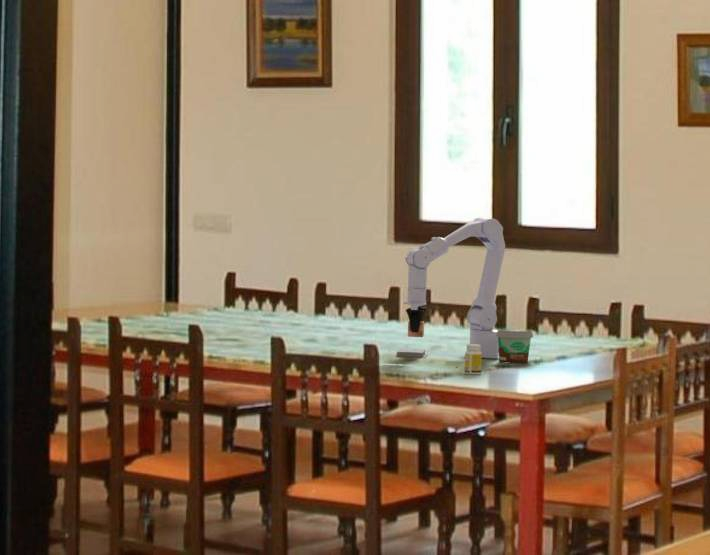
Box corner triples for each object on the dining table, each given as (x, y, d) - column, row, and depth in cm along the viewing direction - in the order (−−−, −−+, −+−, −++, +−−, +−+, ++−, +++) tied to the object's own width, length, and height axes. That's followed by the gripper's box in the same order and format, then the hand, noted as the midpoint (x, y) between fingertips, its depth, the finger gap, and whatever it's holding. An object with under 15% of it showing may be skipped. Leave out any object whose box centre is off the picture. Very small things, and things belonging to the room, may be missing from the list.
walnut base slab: (428, 359, 438) (428, 354, 438) (425, 363, 428) (425, 358, 428) (396, 357, 440) (397, 353, 440) (393, 361, 430) (393, 356, 430)
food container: (504, 364, 425) (506, 331, 424) (494, 361, 430) (496, 329, 430) (539, 363, 430) (540, 331, 429) (529, 360, 435) (530, 329, 435)
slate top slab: (424, 354, 437) (425, 349, 437) (422, 357, 430) (422, 352, 429) (399, 353, 439) (399, 348, 438) (396, 356, 431) (396, 351, 431)
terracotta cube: (423, 335, 435) (424, 321, 434) (422, 337, 430) (422, 322, 430) (409, 335, 435) (409, 320, 435) (407, 336, 431) (408, 322, 430)
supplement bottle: (483, 373, 402) (484, 344, 402) (477, 375, 398) (478, 346, 397) (467, 372, 404) (468, 343, 404) (462, 373, 400) (463, 344, 400)
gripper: (406, 285, 439) (405, 328, 440) (401, 288, 425) (400, 332, 426) (428, 286, 438) (427, 329, 439) (424, 289, 424) (423, 334, 425)
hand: (415, 331), depth 433 cm, fingers closed on terracotta cube, 4 cm apart
